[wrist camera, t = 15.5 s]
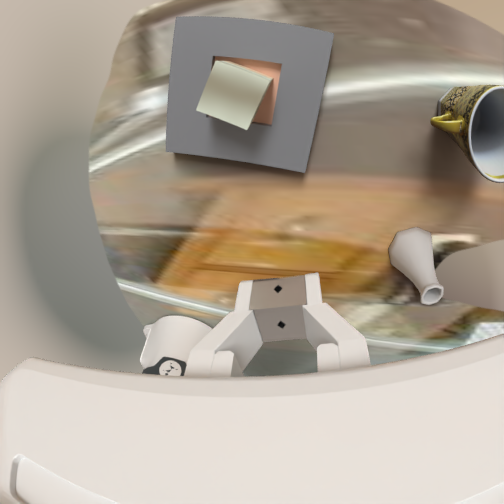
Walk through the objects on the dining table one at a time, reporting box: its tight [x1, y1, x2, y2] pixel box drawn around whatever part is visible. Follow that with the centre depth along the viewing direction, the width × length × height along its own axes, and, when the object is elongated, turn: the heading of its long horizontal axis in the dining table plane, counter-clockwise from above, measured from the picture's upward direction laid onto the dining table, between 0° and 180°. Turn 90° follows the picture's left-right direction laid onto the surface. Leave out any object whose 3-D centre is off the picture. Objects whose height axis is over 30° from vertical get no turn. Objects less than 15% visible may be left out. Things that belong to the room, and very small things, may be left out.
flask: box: [388, 227, 443, 305], centre depth 34 cm, size 7×7×10 cm
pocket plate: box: [166, 16, 334, 173], centre depth 28 cm, size 16×16×2 cm
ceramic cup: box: [431, 85, 504, 183], centre depth 22 cm, size 13×10×10 cm
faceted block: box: [196, 61, 273, 130], centre depth 25 cm, size 5×5×6 cm
